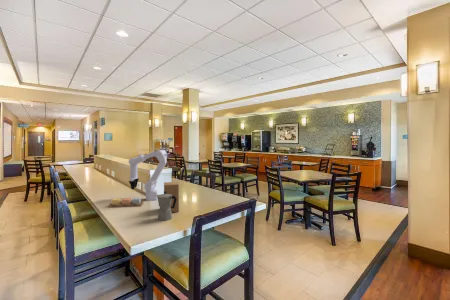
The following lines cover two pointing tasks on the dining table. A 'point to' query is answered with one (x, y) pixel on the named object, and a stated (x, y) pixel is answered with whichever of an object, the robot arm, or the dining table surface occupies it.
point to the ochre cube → (116, 201)
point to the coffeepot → (165, 206)
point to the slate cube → (136, 200)
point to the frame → (125, 205)
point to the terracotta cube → (126, 200)
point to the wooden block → (173, 194)
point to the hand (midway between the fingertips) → (134, 188)
